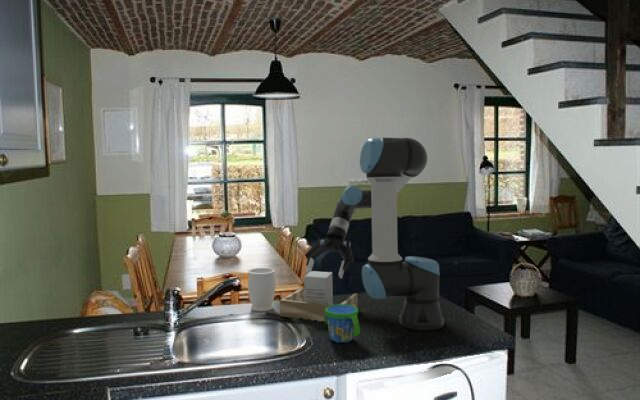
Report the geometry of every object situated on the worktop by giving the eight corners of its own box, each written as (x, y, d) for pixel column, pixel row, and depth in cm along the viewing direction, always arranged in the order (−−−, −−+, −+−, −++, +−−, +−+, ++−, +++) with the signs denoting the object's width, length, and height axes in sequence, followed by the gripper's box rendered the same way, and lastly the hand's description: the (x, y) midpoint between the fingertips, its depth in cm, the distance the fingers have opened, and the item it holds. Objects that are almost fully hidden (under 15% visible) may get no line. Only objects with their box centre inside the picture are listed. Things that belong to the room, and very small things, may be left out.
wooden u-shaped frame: (301, 302, 207) (301, 287, 207) (357, 309, 198) (357, 293, 197) (280, 316, 190) (279, 300, 190) (339, 323, 181) (339, 307, 180)
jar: (243, 311, 196) (242, 272, 195) (254, 303, 206) (254, 266, 205) (269, 313, 193) (268, 274, 192) (279, 306, 203) (279, 268, 201)
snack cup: (369, 344, 161) (369, 312, 160) (340, 350, 156) (340, 318, 155) (342, 329, 175) (342, 300, 174) (315, 335, 169) (315, 305, 169)
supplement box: (310, 308, 199) (310, 270, 198) (333, 310, 197) (333, 271, 195) (303, 315, 190) (303, 276, 189) (327, 317, 188) (327, 277, 187)
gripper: (368, 238, 209) (356, 283, 196) (312, 234, 219) (297, 277, 206) (364, 227, 203) (351, 272, 191) (307, 223, 213) (291, 267, 201)
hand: (323, 275), depth 199 cm, fingers open, 13 cm apart
